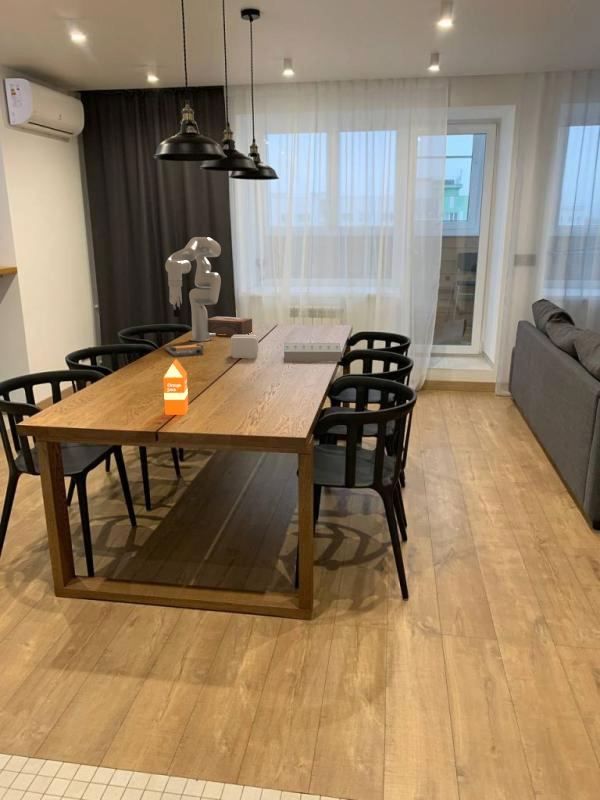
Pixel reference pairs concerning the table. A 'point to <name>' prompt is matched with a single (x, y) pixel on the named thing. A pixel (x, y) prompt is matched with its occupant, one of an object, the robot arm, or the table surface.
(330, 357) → the warehouse
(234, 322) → the tissue box cover
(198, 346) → the swing arm
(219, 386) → the table surface
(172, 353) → the label panel
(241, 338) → the cable organizer
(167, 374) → the orange juice
